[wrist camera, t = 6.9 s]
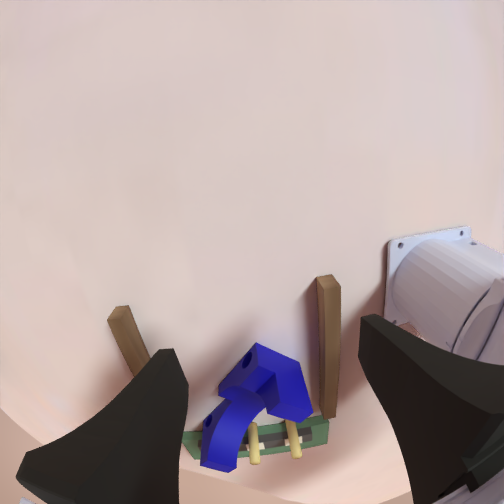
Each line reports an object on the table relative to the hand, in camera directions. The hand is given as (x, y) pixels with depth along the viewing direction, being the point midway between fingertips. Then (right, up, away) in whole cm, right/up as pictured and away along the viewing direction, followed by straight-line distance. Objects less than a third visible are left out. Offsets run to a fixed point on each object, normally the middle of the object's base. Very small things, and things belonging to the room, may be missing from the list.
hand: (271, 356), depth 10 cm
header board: (0, -17, +16) cm, 24 cm away
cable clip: (-2, -9, +14) cm, 17 cm away
